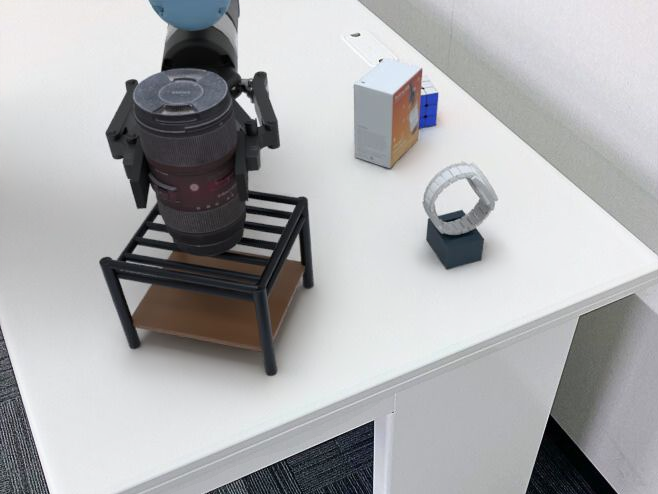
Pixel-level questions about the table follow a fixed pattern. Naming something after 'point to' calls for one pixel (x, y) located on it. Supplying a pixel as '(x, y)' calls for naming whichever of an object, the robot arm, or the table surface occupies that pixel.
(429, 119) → the rubik's cube
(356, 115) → the small box
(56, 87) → the table surface
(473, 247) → the watch
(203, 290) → the slatted rack
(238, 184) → the robot arm
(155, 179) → the camera lens
